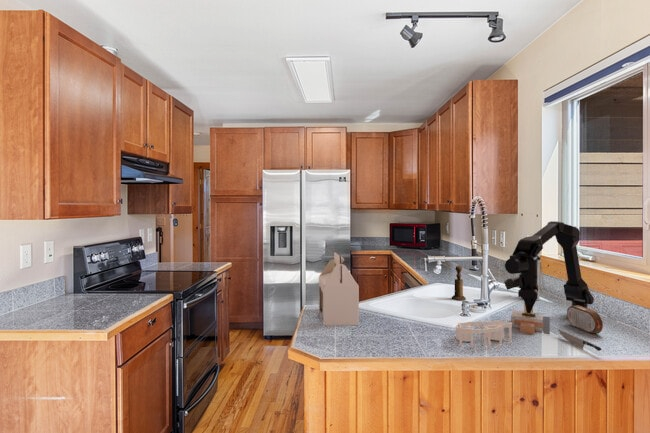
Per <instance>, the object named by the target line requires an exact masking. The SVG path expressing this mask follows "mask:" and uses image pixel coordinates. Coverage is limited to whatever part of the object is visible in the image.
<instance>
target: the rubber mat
mask: <svg viewBox="0 0 650 433" xmlns="http://www.w3.org/2000/svg"><path fill="white" fill-rule="evenodd" d="M550 320H551V319H550V316H544V315H543V334H546V335H550V334H551V330H550V327H551V326H550V324H551V321H550Z"/></svg>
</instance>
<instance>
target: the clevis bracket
mask: <svg viewBox="0 0 650 433" xmlns="http://www.w3.org/2000/svg"><path fill="white" fill-rule="evenodd" d="M543 316H544V313H540V312H533V317H530V316H524V310H523V311H522V310H514V309H513V310H512V313H511V315H510V322H511V323H512V328H519V329H520V330H519V333H521V334H528V335H535V333H536V331H537V332H543Z"/></svg>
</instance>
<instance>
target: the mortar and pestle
mask: <svg viewBox="0 0 650 433" xmlns="http://www.w3.org/2000/svg"><path fill="white" fill-rule="evenodd" d="M462 270H463V267H462V266H461V265H456V266H455V271H456V273H457V274H456V275H455V276H456V278H455V279H454V294H453V296H451V300H454V301H459V302H462V301H463V302H465V301H467V298H466V297H465V296H464V280H463V279H462V274H461V272H462Z"/></svg>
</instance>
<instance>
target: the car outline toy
mask: <svg viewBox="0 0 650 433" xmlns="http://www.w3.org/2000/svg"><path fill="white" fill-rule="evenodd" d="M473 326H477V327H478V328H474V327H473ZM482 326H483V328H482ZM506 328H508V339H505V329H506ZM512 328H513V327H512V323H511V321H506V320H505V321H504V320H490V321H466V322H458V323H457V325H455V339H456V340H457V341H458V342H459V344H458V345H459V347H463V342H465V343H466V342H470V348H471V349H474V334H478V338H477V340H479V341H481V340H482V338H481V337H482V334H483V346H484V345H485V346H487V349H491V347H492V346H491V344H492V343H491V340H492V341H498V342H499V343H494V344H493V345H495V346H494V347H493V348H494V349H495V348H497V347H499V346H502V345H503V344H511V343H512V342H513V341H512ZM503 341H504V342H503Z"/></svg>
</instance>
